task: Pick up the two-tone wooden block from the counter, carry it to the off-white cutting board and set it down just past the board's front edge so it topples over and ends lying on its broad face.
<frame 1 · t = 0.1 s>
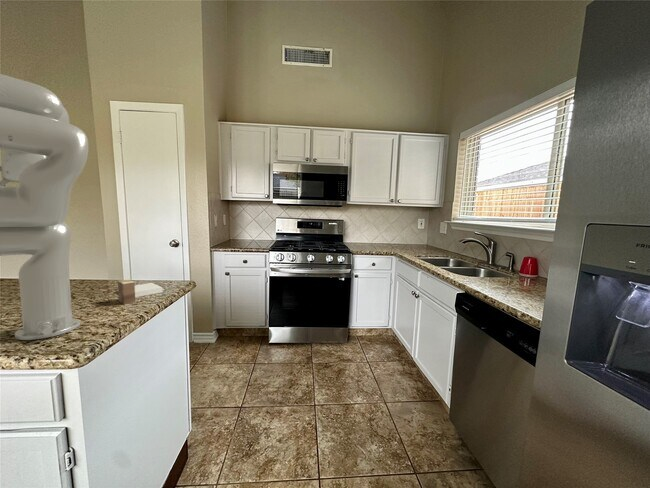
hand: (28, 201, 84), 36 cm above the countertop, tool pointing down, fingers open, 9 cm apart
cutting board: (141, 292, 111), on the countertop
two-tone wooden block: (127, 301, 99), on the countertop
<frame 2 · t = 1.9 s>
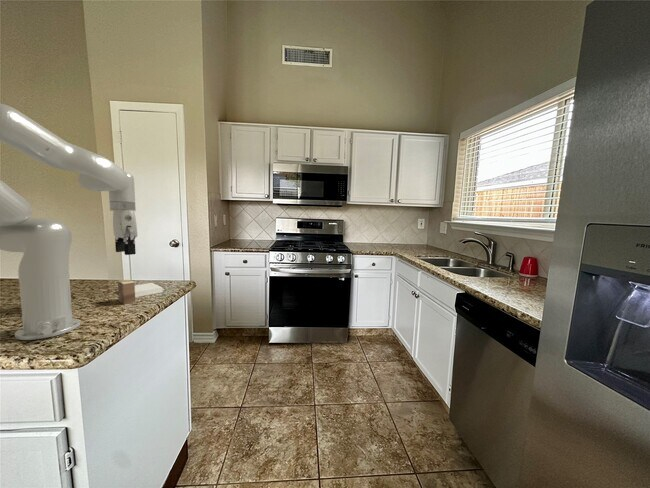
hand: (125, 253, 97), 19 cm above the countertop, tool pointing down, fingers open, 9 cm apart
nothing on the countertop moved.
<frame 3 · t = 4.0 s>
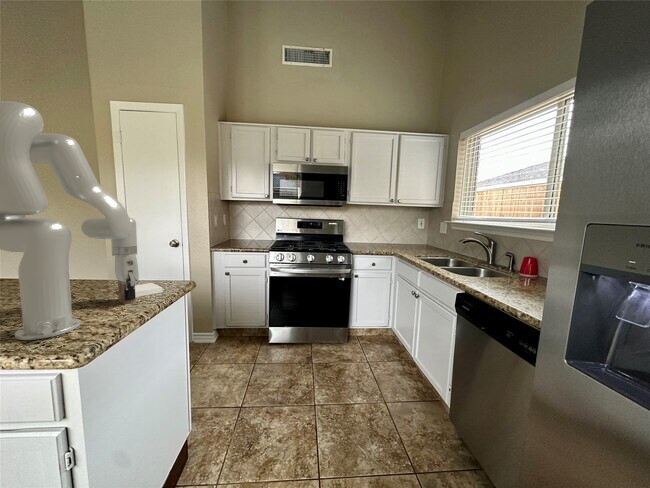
hand: (127, 297, 99), 2 cm above the countertop, tool pointing down, fingers closed on two-tone wooden block, 6 cm apart
two-tone wooden block: (127, 301, 99), on the countertop, touching gripper
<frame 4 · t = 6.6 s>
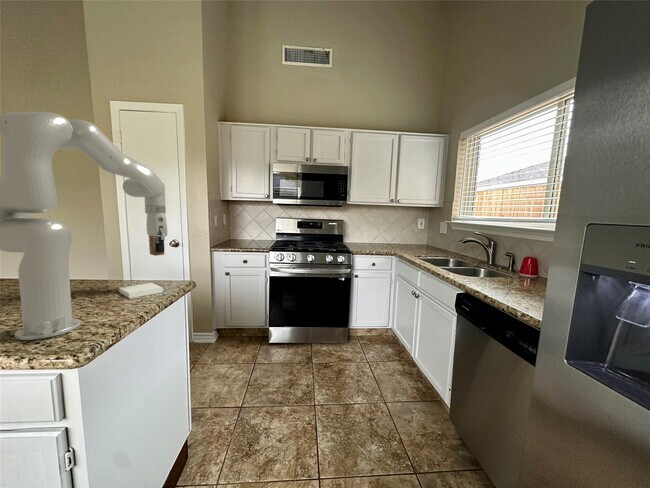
hand: (156, 250, 115), 17 cm above the countertop, tool pointing down, fingers closed on two-tone wooden block, 6 cm apart
two-tone wooden block: (157, 254, 115), point 16 cm above the countertop, touching gripper
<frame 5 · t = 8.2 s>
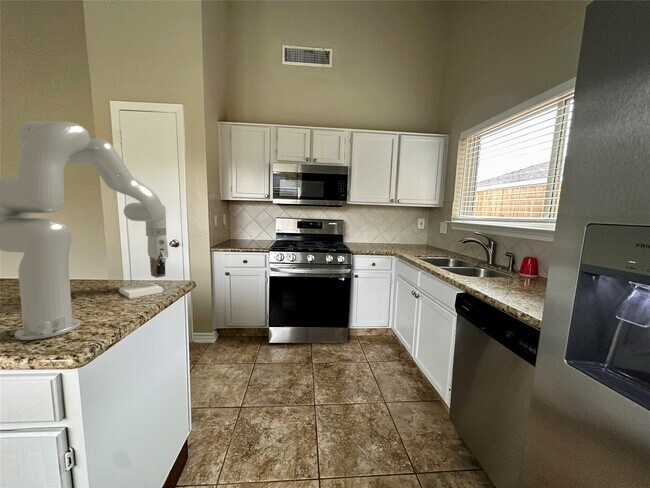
hand: (157, 272, 116), 8 cm above the countertop, tool pointing down, fingers closed on two-tone wooden block, 6 cm apart
two-tone wooden block: (158, 275, 116), point 6 cm above the countertop, touching gripper
when the fingers open (4 cm above the countertop, at t = 9.3 s): two-tone wooden block drops 1 cm and tips over, point 2 cm above the countertop.
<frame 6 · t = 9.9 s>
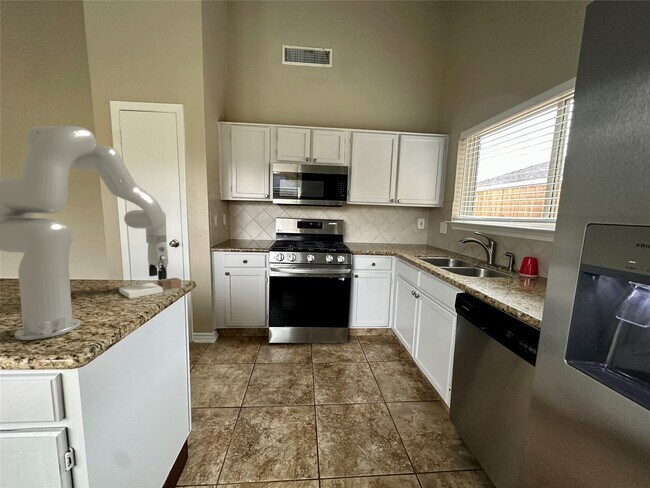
hand: (157, 277, 116), 5 cm above the countertop, tool pointing down, fingers open, 9 cm apart
two-tone wooden block: (160, 285, 117), point 2 cm above the countertop, tilted 90°
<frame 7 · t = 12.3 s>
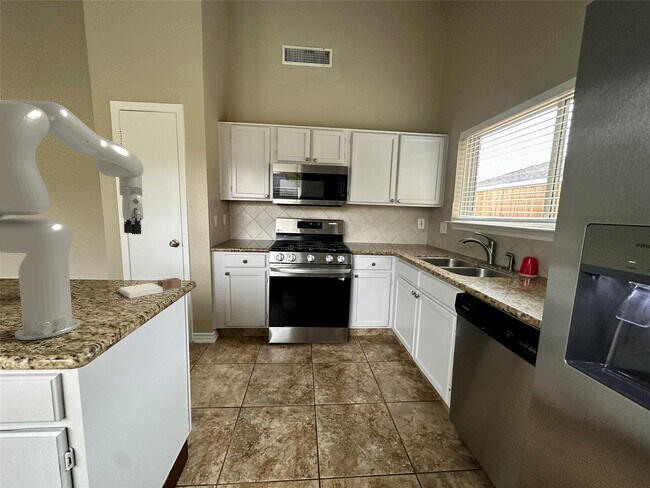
hand: (132, 233, 109), 25 cm above the countertop, tool pointing down, fingers open, 9 cm apart
nothing on the countertop moved.
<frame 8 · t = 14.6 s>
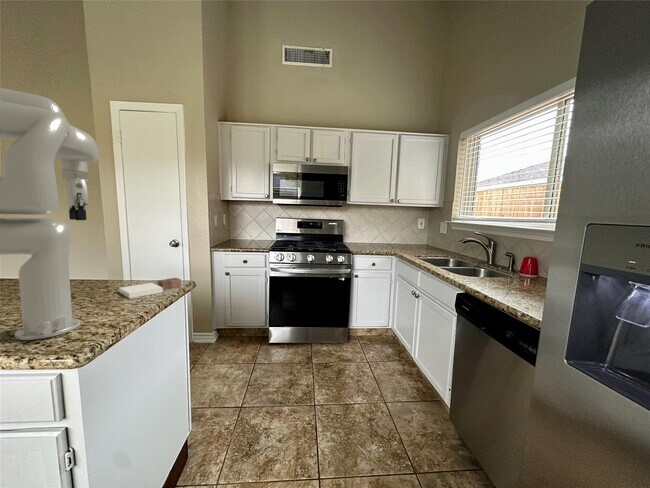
hand: (77, 219, 104), 30 cm above the countertop, tool pointing down, fingers open, 9 cm apart
nothing on the countertop moved.
at the end: two-tone wooden block tilted 90°; two-tone wooden block point 1.6 cm above the countertop; the gripper is holding nothing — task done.
